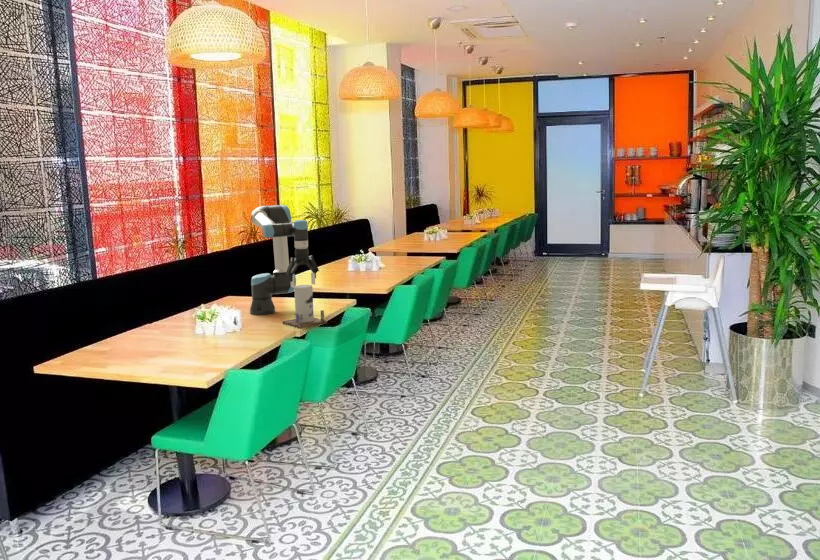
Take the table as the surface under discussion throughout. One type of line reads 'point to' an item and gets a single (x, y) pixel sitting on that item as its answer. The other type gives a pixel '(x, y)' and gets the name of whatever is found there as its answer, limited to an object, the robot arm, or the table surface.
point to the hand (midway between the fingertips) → (303, 285)
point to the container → (304, 302)
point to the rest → (306, 324)
